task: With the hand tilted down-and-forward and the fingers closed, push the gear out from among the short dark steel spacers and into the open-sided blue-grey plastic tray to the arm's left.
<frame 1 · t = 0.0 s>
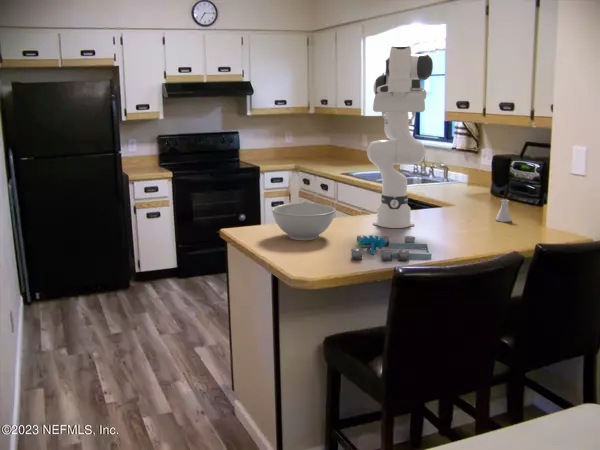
hand: (398, 123, 243), 48 cm above the worktop, tool pointing down, fingers open, 8 cm apart
flask: (503, 221, 293), on the worktop
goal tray: (409, 252, 237), on the worktop
spacers: (381, 252, 237), on the worktop
decorative bowl: (303, 237, 262), on the worktop
gear: (371, 253, 238), on the worktop
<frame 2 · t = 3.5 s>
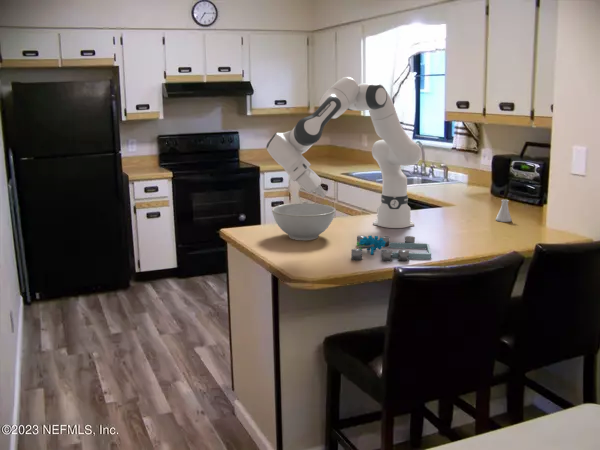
hand: (325, 195, 235), 22 cm above the worktop, tool tilted 45°, fingers closed
nothing on the worktop moved.
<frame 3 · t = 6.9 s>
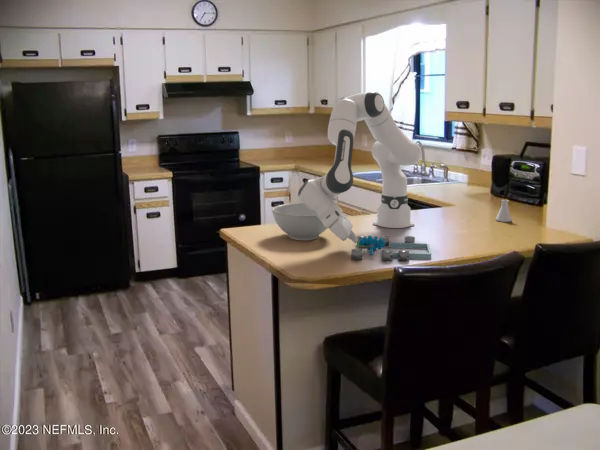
hand: (357, 241, 236), 4 cm above the worktop, tool tilted 45°, fingers closed
gear: (370, 253, 237), on the worktop, touching gripper
everything else where it was.
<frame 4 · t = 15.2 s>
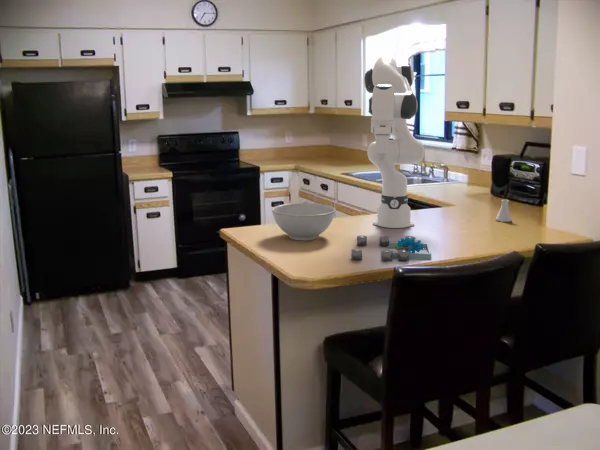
hand: (381, 164, 237), 33 cm above the worktop, tool pointing down, fingers closed
gear: (408, 255, 234), on the worktop
everything else where it was.
at the end: gear inside the target area (2.4 cm from its centre), on the worktop; gear tilted 0° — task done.
